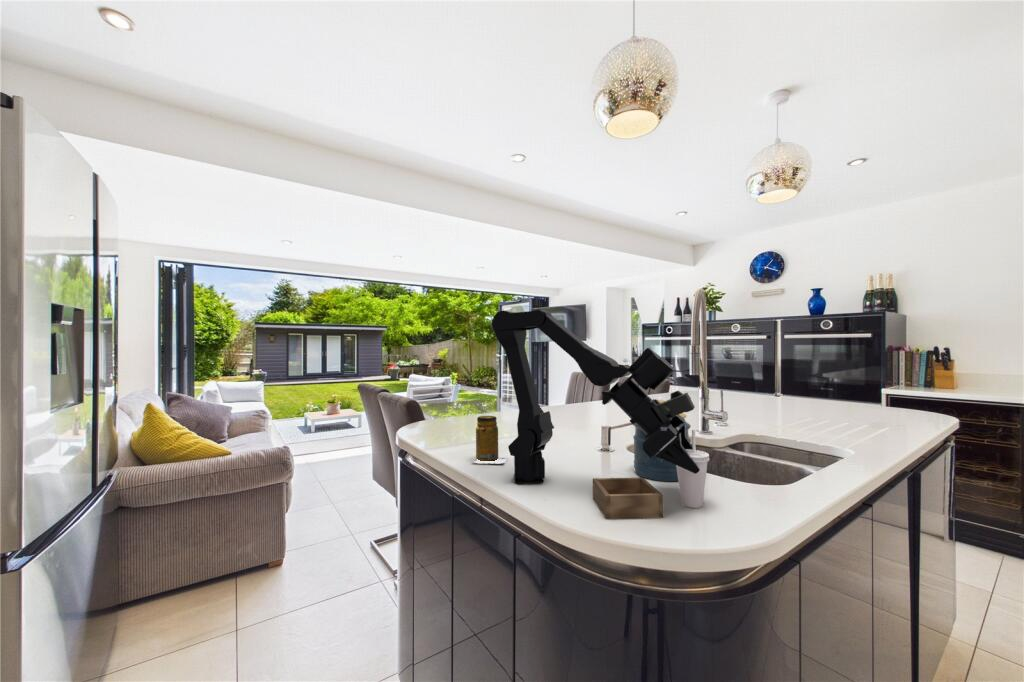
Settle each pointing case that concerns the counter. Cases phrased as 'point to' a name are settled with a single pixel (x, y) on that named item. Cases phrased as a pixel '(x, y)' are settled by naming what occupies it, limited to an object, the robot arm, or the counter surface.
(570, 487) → the counter surface
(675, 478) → the canister
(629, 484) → the wooden box
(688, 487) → the smoothie
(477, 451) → the condiment
